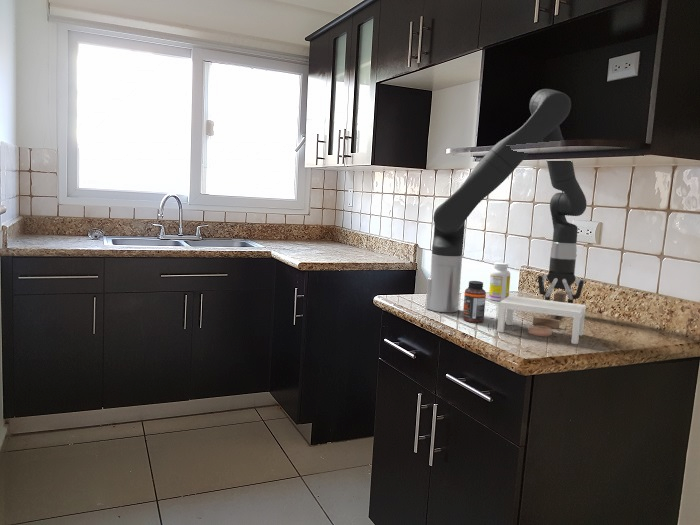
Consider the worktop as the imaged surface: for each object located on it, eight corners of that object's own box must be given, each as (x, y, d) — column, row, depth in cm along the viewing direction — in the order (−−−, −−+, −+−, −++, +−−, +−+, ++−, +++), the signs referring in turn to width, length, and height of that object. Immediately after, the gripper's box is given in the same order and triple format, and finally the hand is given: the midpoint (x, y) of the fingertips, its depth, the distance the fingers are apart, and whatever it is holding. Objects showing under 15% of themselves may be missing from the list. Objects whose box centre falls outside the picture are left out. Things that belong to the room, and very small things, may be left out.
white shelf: (496, 331, 149) (499, 302, 148) (507, 323, 160) (509, 295, 159) (577, 344, 140) (580, 312, 139) (582, 334, 150) (585, 305, 149)
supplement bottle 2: (503, 298, 200) (506, 262, 198) (511, 301, 194) (514, 264, 192) (485, 297, 199) (488, 261, 197) (493, 301, 193) (496, 264, 191)
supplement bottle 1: (458, 318, 163) (461, 280, 162) (476, 318, 165) (479, 279, 163) (469, 323, 157) (472, 283, 156) (487, 322, 159) (490, 283, 158)
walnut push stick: (532, 324, 159) (534, 304, 158) (549, 308, 185) (550, 290, 184) (558, 328, 156) (560, 307, 155) (571, 311, 181) (573, 293, 181)
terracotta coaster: (528, 335, 148) (529, 330, 147) (527, 330, 153) (527, 324, 153) (553, 337, 146) (553, 331, 146) (550, 331, 152) (550, 325, 152)
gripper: (537, 255, 176) (532, 308, 178) (586, 260, 169) (581, 315, 171) (541, 253, 183) (536, 304, 185) (588, 258, 176) (583, 310, 178)
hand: (558, 309), depth 178 cm, fingers open, 5 cm apart
